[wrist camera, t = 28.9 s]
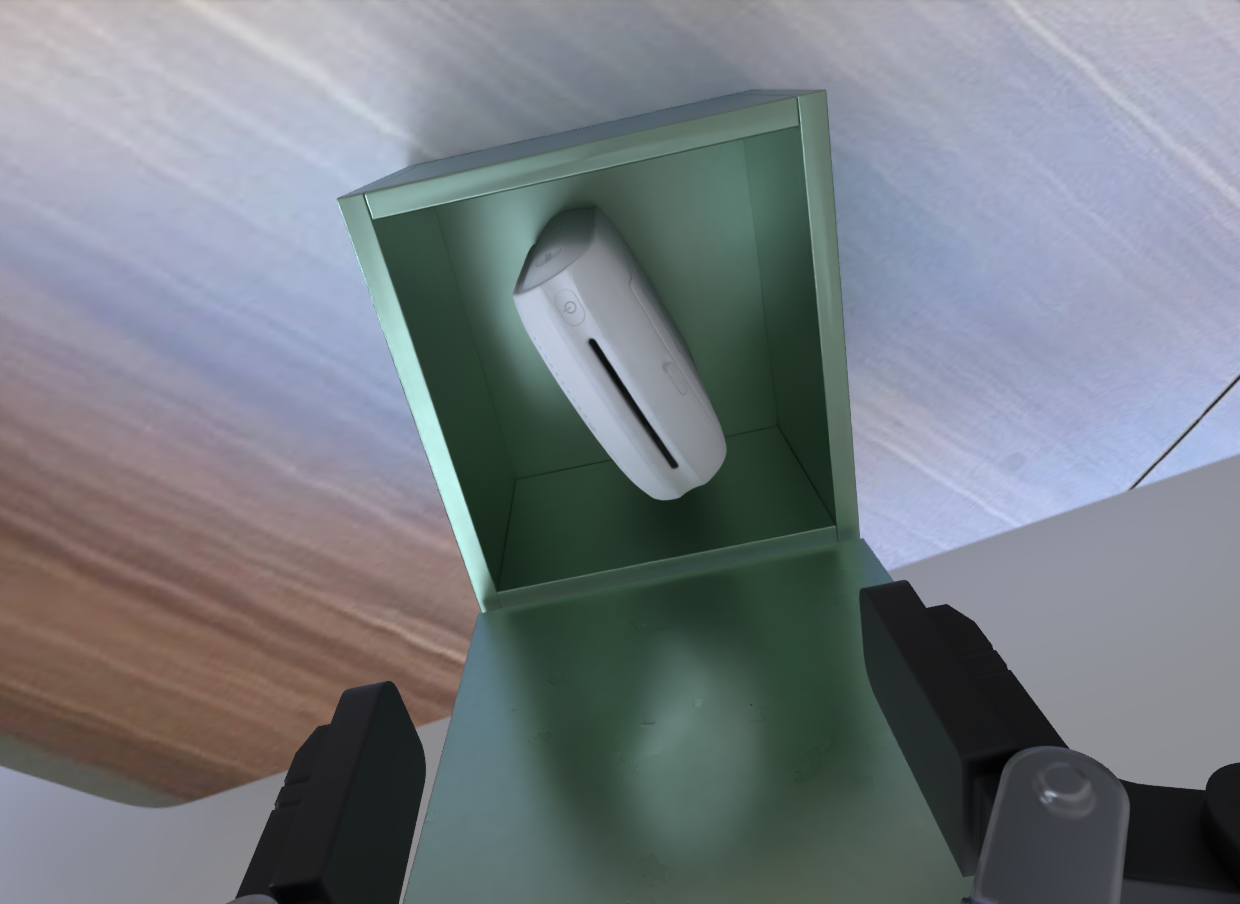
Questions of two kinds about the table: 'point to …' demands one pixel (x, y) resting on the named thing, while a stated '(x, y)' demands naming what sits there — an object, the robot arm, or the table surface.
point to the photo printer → (618, 354)
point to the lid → (681, 750)
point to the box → (697, 302)
